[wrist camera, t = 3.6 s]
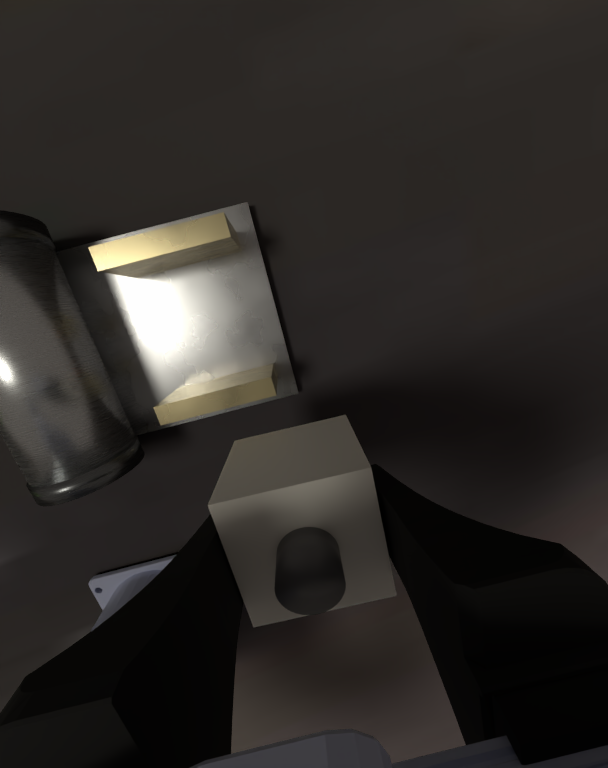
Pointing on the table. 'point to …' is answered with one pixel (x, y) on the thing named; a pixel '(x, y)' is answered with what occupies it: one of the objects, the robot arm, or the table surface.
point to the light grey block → (302, 522)
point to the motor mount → (129, 342)
